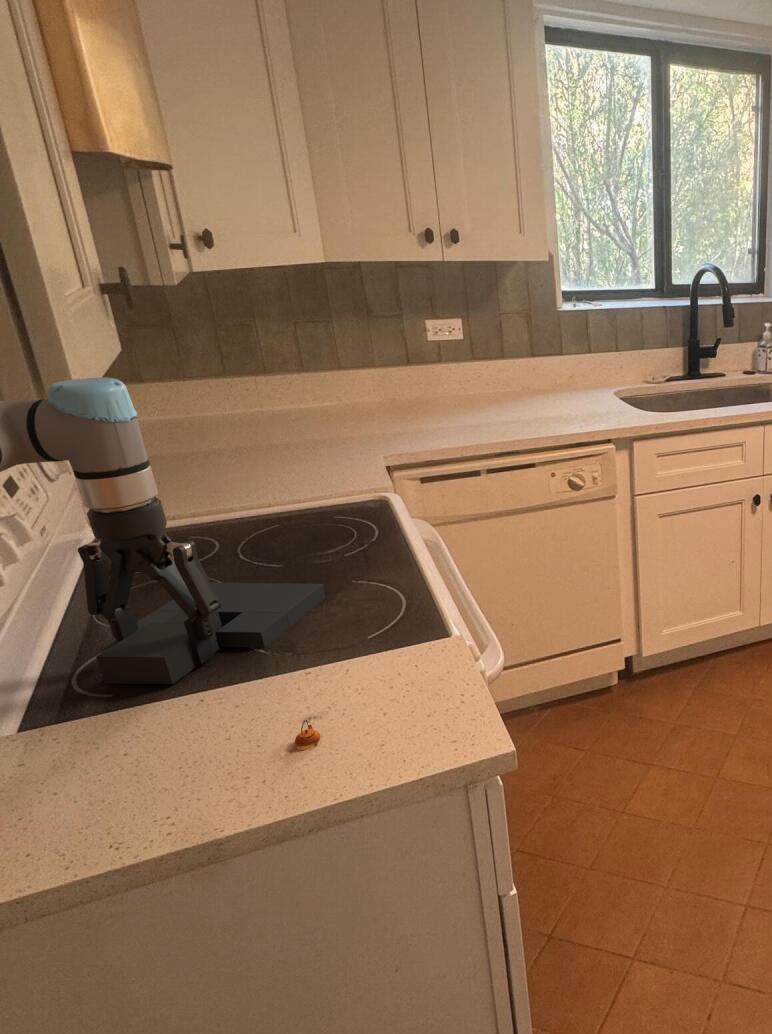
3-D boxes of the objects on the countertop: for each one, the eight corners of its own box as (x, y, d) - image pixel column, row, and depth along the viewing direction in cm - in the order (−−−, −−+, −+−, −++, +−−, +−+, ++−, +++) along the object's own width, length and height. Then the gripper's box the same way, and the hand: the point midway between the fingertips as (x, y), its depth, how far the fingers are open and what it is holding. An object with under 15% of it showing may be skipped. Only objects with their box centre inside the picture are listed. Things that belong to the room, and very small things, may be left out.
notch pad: (130, 655, 112) (122, 630, 110) (206, 604, 127) (200, 582, 125) (267, 657, 111) (260, 632, 110) (327, 606, 126) (322, 583, 125)
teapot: (289, 746, 92) (284, 727, 91) (311, 732, 95) (307, 713, 94) (306, 752, 91) (301, 733, 90) (328, 737, 94) (324, 719, 93)
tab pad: (105, 683, 101) (95, 656, 100) (177, 634, 113) (170, 609, 112) (172, 684, 101) (164, 657, 99) (237, 635, 113) (231, 610, 112)
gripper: (227, 493, 101) (265, 646, 109) (65, 492, 102) (115, 644, 110) (186, 513, 94) (230, 674, 102) (12, 512, 95) (70, 672, 103)
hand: (171, 658), depth 106 cm, fingers closed on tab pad, 9 cm apart
